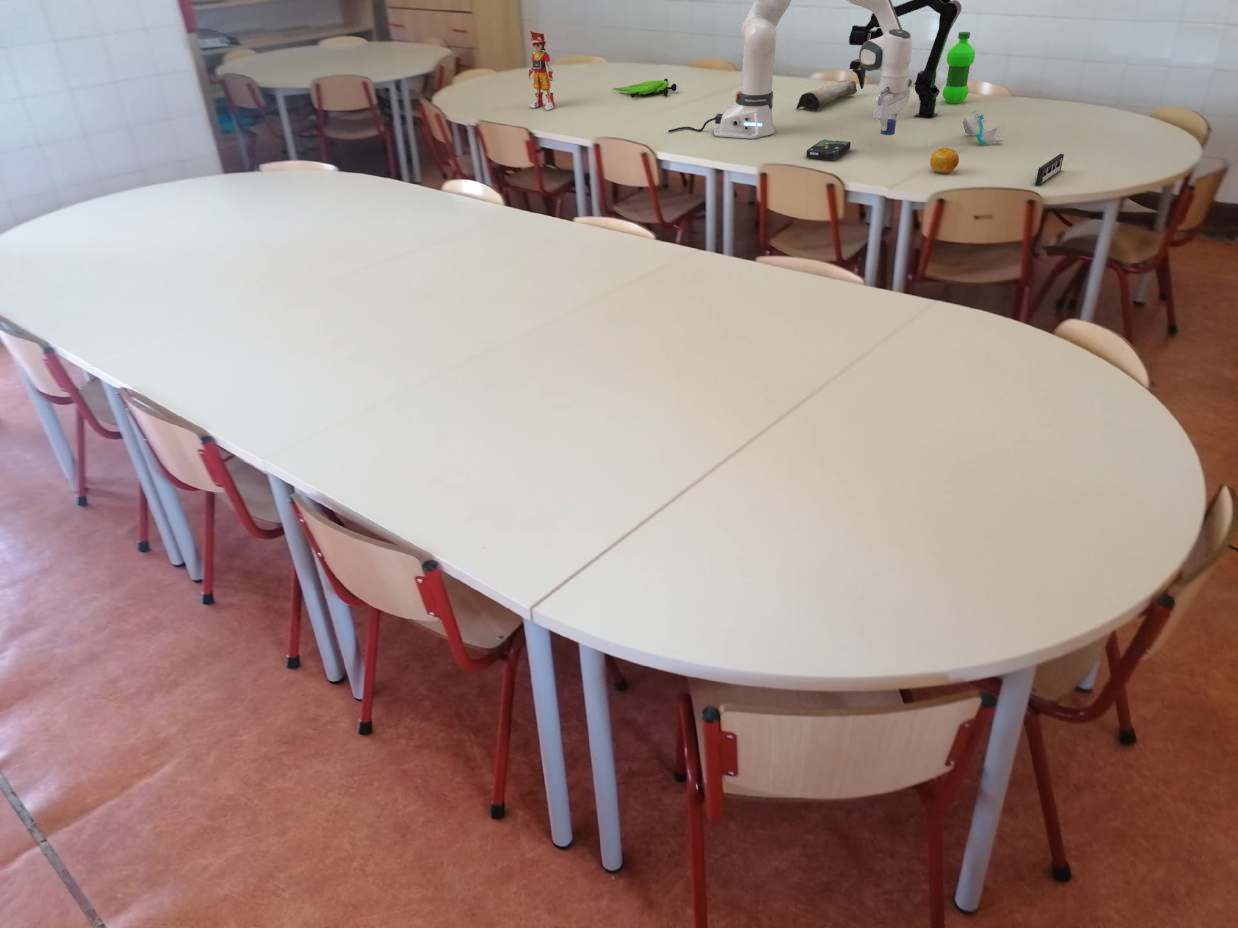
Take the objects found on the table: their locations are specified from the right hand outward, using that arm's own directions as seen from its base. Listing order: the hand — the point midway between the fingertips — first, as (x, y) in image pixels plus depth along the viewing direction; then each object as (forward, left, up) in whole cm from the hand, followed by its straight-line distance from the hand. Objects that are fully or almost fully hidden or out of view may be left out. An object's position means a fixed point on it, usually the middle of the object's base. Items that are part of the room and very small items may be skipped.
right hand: (872, 90), depth 345 cm
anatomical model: (+18, +50, -8) cm, 54 cm away
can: (+45, +29, -2) cm, 53 cm away
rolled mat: (-5, -22, -8) cm, 23 cm away
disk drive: (+58, +14, -8) cm, 60 cm away
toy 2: (+16, -103, -8) cm, 104 cm away
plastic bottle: (-28, +21, -8) cm, 36 cm away
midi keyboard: (+47, +84, -8) cm, 96 cm away
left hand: (+45, +29, 0) cm, 53 cm away
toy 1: (+57, -123, -8) cm, 136 cm away
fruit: (+57, +54, -8) cm, 79 cm away
